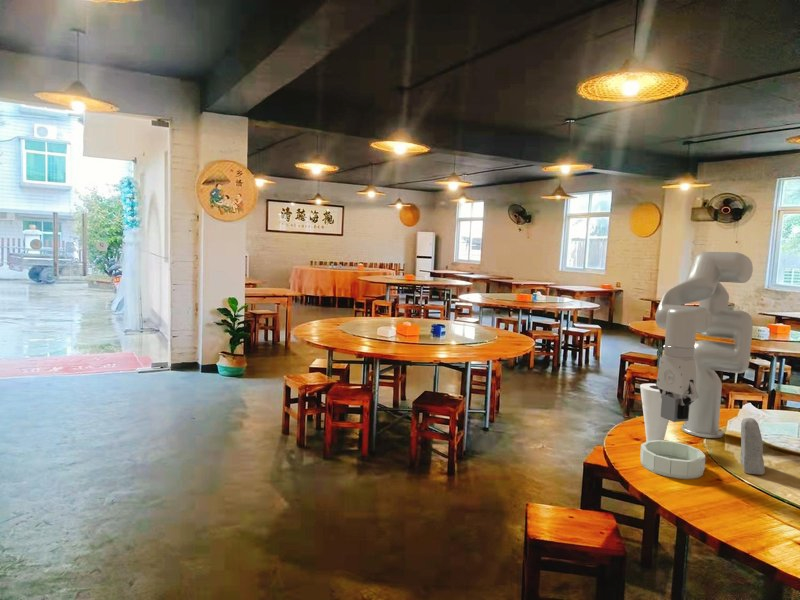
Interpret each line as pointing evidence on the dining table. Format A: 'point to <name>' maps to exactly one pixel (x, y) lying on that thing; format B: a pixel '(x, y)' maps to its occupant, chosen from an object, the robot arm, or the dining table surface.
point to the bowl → (672, 459)
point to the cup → (653, 412)
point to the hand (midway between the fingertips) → (674, 414)
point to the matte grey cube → (671, 407)
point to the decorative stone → (751, 447)
